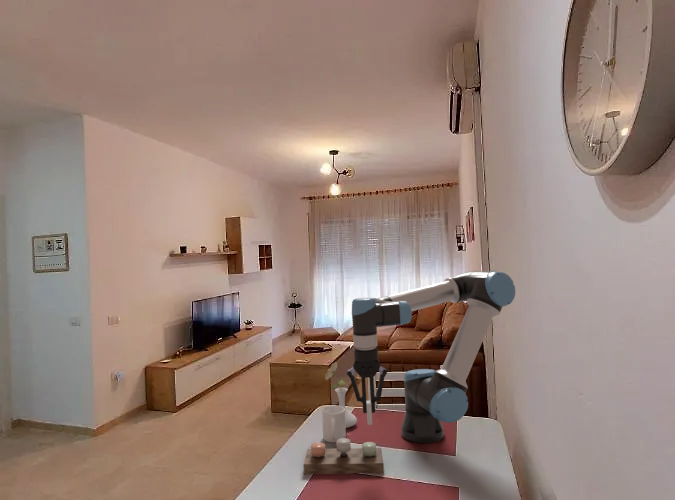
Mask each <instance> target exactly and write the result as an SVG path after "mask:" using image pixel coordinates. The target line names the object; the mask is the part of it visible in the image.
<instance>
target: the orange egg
mask: <svg viewBox="0 0 675 500" xmlns="http://www.w3.org/2000/svg"><path fill="white" fill-rule="evenodd" d="M310 445H311V446H310V449H311V455H312V456H314V457H316V458H321V456H324V455H325V449H326V444H325V443H324V442H315V443H312V444H310Z"/></svg>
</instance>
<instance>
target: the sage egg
mask: <svg viewBox="0 0 675 500" xmlns="http://www.w3.org/2000/svg"><path fill="white" fill-rule="evenodd" d="M361 448H362V454H363V455H365V456H367V457H372V456H374V455H376V448H377V444H376V442H372V441H366V442H363V443H362V444H361Z"/></svg>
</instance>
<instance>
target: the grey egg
mask: <svg viewBox="0 0 675 500" xmlns="http://www.w3.org/2000/svg"><path fill="white" fill-rule="evenodd" d="M335 444H336V449H337V451H339V452H341V455H342V456H346V452H348V451H350V450H351V448H352V447H351V440H350V438H346V437H345V438H341V439H338V440H337V441H336V443H335Z"/></svg>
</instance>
